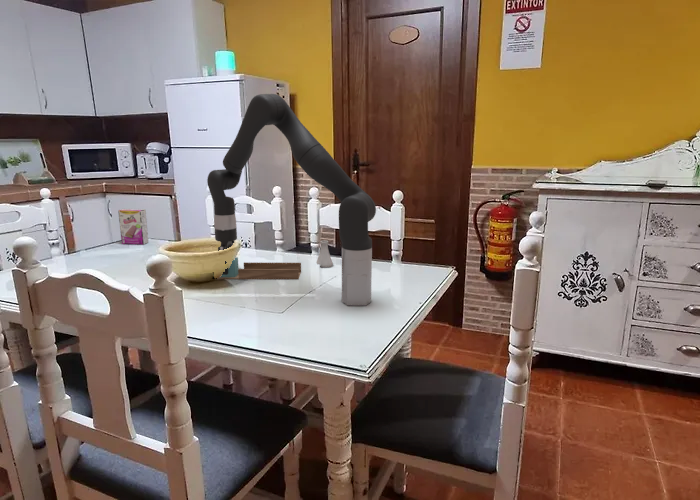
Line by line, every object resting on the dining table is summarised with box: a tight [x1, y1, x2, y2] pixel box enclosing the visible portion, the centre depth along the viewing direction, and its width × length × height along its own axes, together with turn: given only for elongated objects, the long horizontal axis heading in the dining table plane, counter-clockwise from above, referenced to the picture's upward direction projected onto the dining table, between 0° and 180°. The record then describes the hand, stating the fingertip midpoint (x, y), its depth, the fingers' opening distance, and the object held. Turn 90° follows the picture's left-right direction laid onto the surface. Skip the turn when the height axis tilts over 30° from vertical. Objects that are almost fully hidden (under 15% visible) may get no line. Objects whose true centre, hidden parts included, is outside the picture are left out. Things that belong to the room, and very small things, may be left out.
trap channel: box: [216, 262, 302, 280], centre depth 172 cm, size 10×31×5 cm, turn 90°
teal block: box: [221, 256, 240, 277], centre depth 172 cm, size 5×8×6 cm, turn 90°
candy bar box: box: [118, 208, 149, 246], centre depth 226 cm, size 11×5×16 cm, turn 84°
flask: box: [315, 239, 334, 268], centre depth 190 cm, size 7×7×10 cm
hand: (227, 271), depth 172 cm, fingers open, 8 cm apart
